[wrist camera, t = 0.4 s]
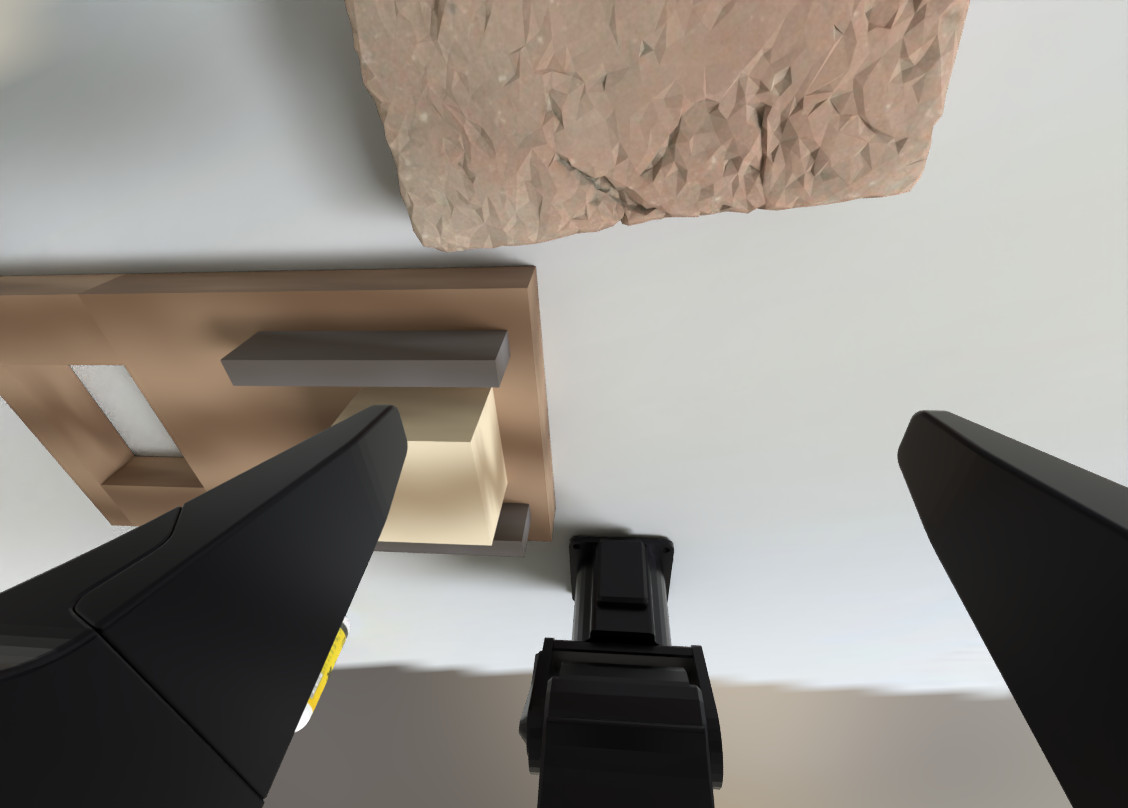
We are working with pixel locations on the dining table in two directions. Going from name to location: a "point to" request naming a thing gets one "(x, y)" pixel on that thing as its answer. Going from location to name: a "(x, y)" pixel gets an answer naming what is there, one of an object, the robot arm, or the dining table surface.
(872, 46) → the brick
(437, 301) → the lane board
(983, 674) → the dining table surface
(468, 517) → the block
